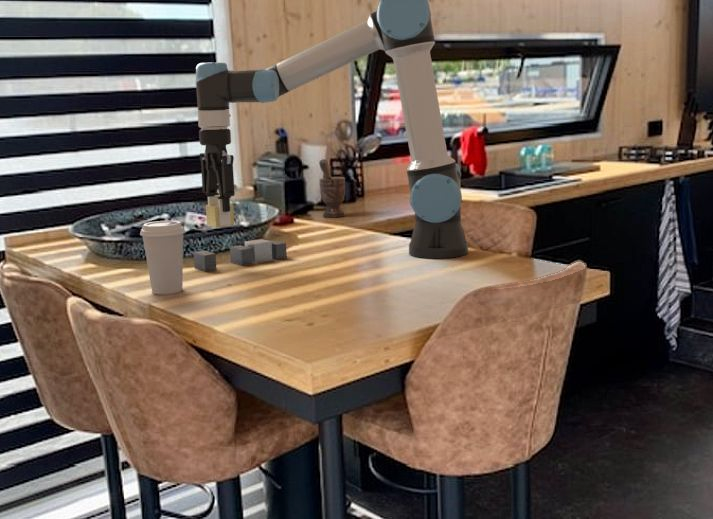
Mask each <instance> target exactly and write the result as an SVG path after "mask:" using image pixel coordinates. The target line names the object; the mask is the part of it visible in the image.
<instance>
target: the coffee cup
mask: <svg viewBox="0 0 713 519" xmlns="http://www.w3.org/2000/svg"><path fill="white" fill-rule="evenodd" d="M185 232H186V230H185V228H184V226H183V224H182V222H181V221H178V220H160V221H159V220H158V221H157V220H156V221H151V222H145V223H144V224H143V225H142V228H141V229H140V233H139V235H140V236H141V237H142V241H143V242H142V243H143V248H144V252H145V257H146V264H147V270H148V274H149V281H150V287H151V293H152V294H154V295H159V296H160V295H163V296H164V295H165V296H166V295H173V294H177V293H180V292H182V291H183V286H184V285H183V278H184V277H183V276H184V274H183V272H184V271H183V267H184V266H183V265H184V262H183V261H184V234H185Z"/></svg>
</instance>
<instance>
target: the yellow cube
mask: <svg viewBox="0 0 713 519" xmlns="http://www.w3.org/2000/svg"><path fill="white" fill-rule="evenodd" d="M230 215H231V225H223V226H220V222H219V205H218V204H210V205H208V204H205V218H206V219H205V221H206V226H210V227H212V228H222V227H223V228H224V227H229V226H235V213H234V204H231V203H230Z"/></svg>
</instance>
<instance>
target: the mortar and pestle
mask: <svg viewBox="0 0 713 519" xmlns="http://www.w3.org/2000/svg"><path fill="white" fill-rule="evenodd" d="M319 168H320V170H321V171H322V173H323V176H324V177H322V178H319V192H320V193H319V194H320V197H321V199H322V202H323V203H324V204H325V205H326V209H325V211H324V213H323V214H322V216H323V217H324V218H327V219H328V218H330V219H334V218H335V219H336V218H342V217H345V216H346V213H345V211H344V209H342V207H341V204H342V203H343V201H345V195H346V178H345V177H344V176H332V175H331V174H332V173H331V170H330V164H329V162H328V160H327V159H326V158H325V159H323V158H322V159H321V160H319Z"/></svg>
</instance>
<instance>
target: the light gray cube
mask: <svg viewBox="0 0 713 519" xmlns="http://www.w3.org/2000/svg"><path fill="white" fill-rule="evenodd" d="M271 241H272V240H266V239H263V238H260V239H254V240H248V241H247V240H246V241H244V246H245V247H249V248H252V261H253V263H254V264H258V263H265V262H270V261H271V262H272V261H273V259H272V244H271Z"/></svg>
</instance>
